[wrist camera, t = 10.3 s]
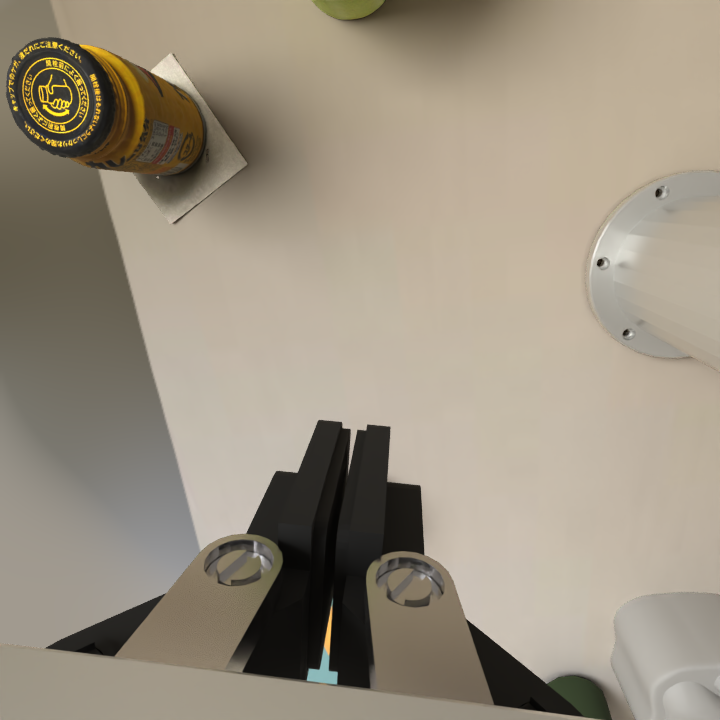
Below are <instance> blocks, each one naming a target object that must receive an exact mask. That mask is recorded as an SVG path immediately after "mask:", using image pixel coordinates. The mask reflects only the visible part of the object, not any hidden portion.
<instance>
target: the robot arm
mask: <svg viewBox="0 0 720 720" xmlns="http://www.w3.org/2000/svg"><path fill="white" fill-rule="evenodd" d="M657 189H658V190H659V195H658V196H657V197H656V196H655V192H656V190H657ZM599 259H601V260H602V263H601V265H599V266H597V261H598V260H599ZM585 285H586V291H587V298H588V301H589V304H590V306H591V309H592V312H593V314H594V316H595V317H596V319H597V320H598V322H599V323H600V325H601V327H602V328H603V329H604V330H605V331H606V332H607V333H608V334H609V335H611V336H612V337H613V338H614V339H615V340H617V341H618V342H620V343H621V344H623V345H624V346H626V347H628V348H630V349H632V350H634V351H636V352H638V353H642V354H645V355H649V356H652V357H660V358H683V357H693V358H695V359H697V360H699V361H700V362H702V363H704V364H706V365H708V366H710V367H711V368H713V369H715V370H717V371H719V372H720V172H718V171H690V172H683V173H676V174H673V175H670V176H667V177H663V178H660V179H657V180H655V181H653V182H651V183H649V184H647V185H645V186H643V187H642V188H640V189H638V190H637V191H635V192H634V193H633V194H631V195H630V196H629V197H627V198H626V199H625V200H623V201H622V202H621V203H620V204H619V205H618V206H617V207H616V209H615V210H614V211H613V212H612V213H611V214H610V215H609V216H608V217H607V219H606V220H605V222H604V223H603V225H602V226H601V228H600V229H599V231H598V233H597V235H596V237H595V239H594V241H593V244H592V246H591V248H590V252H589V256H588V260H587V264H586V277H585ZM626 329H627V332H626V334H623V332H624V331H625V330H626ZM622 334H623V335H622ZM350 434H351V430H350V429H343V428H342V422H335V421H324V420H319V421H318V423H317V425H316V428H315V430H314V433H313V435H312V438H311V441H310V443H309V446H308V448H307V451H306V453H305V456H304V458H303V461H302V464H301V466H300V469H299V471H298V473H293V472H283V471H276V473H275V474H274V476H273V478H272V480H271V482H270V485H269V487H268V489H267V491H266V493H265V495H264V497H263V499H262V501H261V504H260V506H259V508H258V510H257V512H256V514H255V516H254V518H253V520H252V523H251V525H250V527H249V529H248V531H247V533H246V534H238V535H230V536H227V537H224V538H220V539H218V540H216V541H214V542H213V543H211V544H209V545H208V546H207V547H205V548H204V549H203V550H202V551H201V552H200V553H199V554H198V555H197V557H196V558H195V559H194V560H193V562H192V563H191V564H190V566H188V568H187V569H186V570H185V571H184V572H183V574H182V575H181V576H180V577H179V579H178V580H177V581H176V582H175V583H174V585H173V586H172V587H171V588H170V589H169V591H168V592H167V593H166V594H163V595H162V596H159V597H157V598H154V599H152V600H150V601H148V602H145V603H143V604H141V605H139V606H136V607H134V608H132V609H129V610H127V611H125V612H123V613H120V614H118V615H116V616H113V617H111V618H109V619H106V620H104V621H102V622H100V623H97V624H95V625H93V626H91V627H88V628H86V629H84V630H81V631H79V632H77V633H75V634H72V635H70V636H68V637H66V638H64V639H61V640H59V641H57V642H55V643H54V644H52V645H50V646H48V647H46V648H37V647H29V646H20V645H13V644H4V643H0V720H600V719H593V718H585V717H584V716H583V715H582V714H581V713H580V712H579V711H578V710H577V709H576V708H575V707H574V706H573V705H572V704H571V703H570V702H568V701H567V700H566V699H565V698H563V697H562V696H561V695H560V694H559V693H557V692H556V691H555V690H554V689H552V688H551V687H550V686H549V685H547V684H546V683H545V682H544V681H542V680H541V679H540V678H539V677H537V676H536V675H535V674H534V673H532V672H531V671H530V670H529V669H528V668H526V667H525V666H524V665H523V664H521V663H520V662H519V661H518V660H516V659H515V658H514V657H513V656H511V655H510V654H509V653H508V652H506V651H505V650H504V649H503V648H501V647H500V646H499V645H498V644H497V643H495V642H494V641H493V640H492V639H490V638H489V637H488V636H487V635H485V634H484V633H483V632H482V631H480V630H479V629H478V628H477V627H475V626H474V625H473V624H472V623H470V622H469V621H468V620H467V619H466V618H465V615H464V612H463V609H462V606H461V603H460V600H459V597H458V594H457V591H456V588H455V585H454V582H453V580H452V578H451V576H450V574H449V572H448V571H447V570H446V569H445V568H444V567H443V566H442V565H441V564H440V563H439V562H437V561H435V560H433V559H432V558H430V557H428V556H425V555H424V539H423V521H422V503H421V487H420V485H410V484H401V483H391V482H387V474H388V458H389V442H390V427H387V426H377V425H367V430H366V431H364V430H357V435H356V440H355V445H354V450H353V455H352V460H351V464H350V469H349V474H348V465H349V450H350ZM332 600H333V604H332ZM331 605H332V620H331V637H330V654H329V671H332V672H338V675H337V684H329V683H321V682H313V681H307V677H308V672H309V669H316V670H319V669H320V666H321V661H322V655H323V649H324V644H325V638H326V633H327V627H328V622H329V616H330V611H331Z"/></svg>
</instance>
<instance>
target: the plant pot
mask: <svg viewBox="0 0 720 720" xmlns="http://www.w3.org/2000/svg"><path fill="white" fill-rule="evenodd" d="M312 2H313V3H314V4H315V5H316V6H317V7H318V8H319V9H320V10H321V11H323V12H324V13H326V14H327V15H329V16H331V17H334V18H337V19H349V20H350V19H357V18H363V17H365V16H367V15H369V14H371V13H373V12H374V11H375V10H377V9H378V8H379V7H380V6H381V5H382V4H383V3H384V2H385V0H312Z"/></svg>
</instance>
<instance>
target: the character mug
mask: <svg viewBox="0 0 720 720" xmlns="http://www.w3.org/2000/svg"><path fill="white" fill-rule="evenodd" d="M547 685H549V686H550V687H551V688H552V689H554V690H555V691H556V692H557V693H559V694H560V695H561V696H562V697H563V698H565V699H566V700H567V701H568V702H570V703H571V704H572V705H573V706H574V707H575V708H576V709H577V710H578V711H579V712H580V713H581V714H582V715H583V716H584V717H585V718H593V719H600V720H612V718H611V714H610V711H609V708H608V704H607V701H606V699H605V696H604V694H603V692H602V690H601V689H600V688H598V687H597V686H596V685H595V684H594V683H592V682H591V681H589V680H586V679H583V678H580V677H577V676H567V677H558V678H557V679H555V680H553V681H551V682H550V683H548V684H547Z"/></svg>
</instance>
